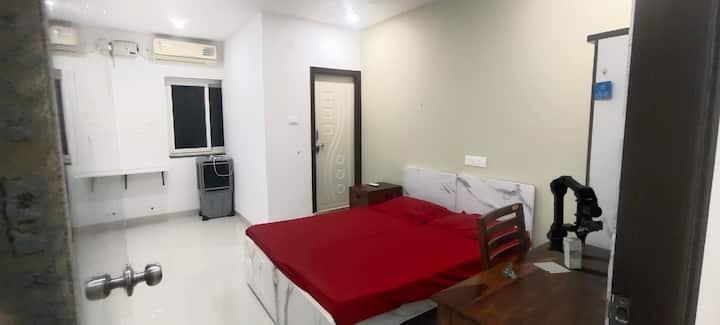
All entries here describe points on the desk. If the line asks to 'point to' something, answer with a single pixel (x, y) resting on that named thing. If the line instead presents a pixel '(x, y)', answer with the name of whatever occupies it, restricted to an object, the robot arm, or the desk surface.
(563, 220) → the robot arm
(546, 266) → the mat
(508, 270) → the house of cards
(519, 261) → the desk surface
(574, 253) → the syrup box
